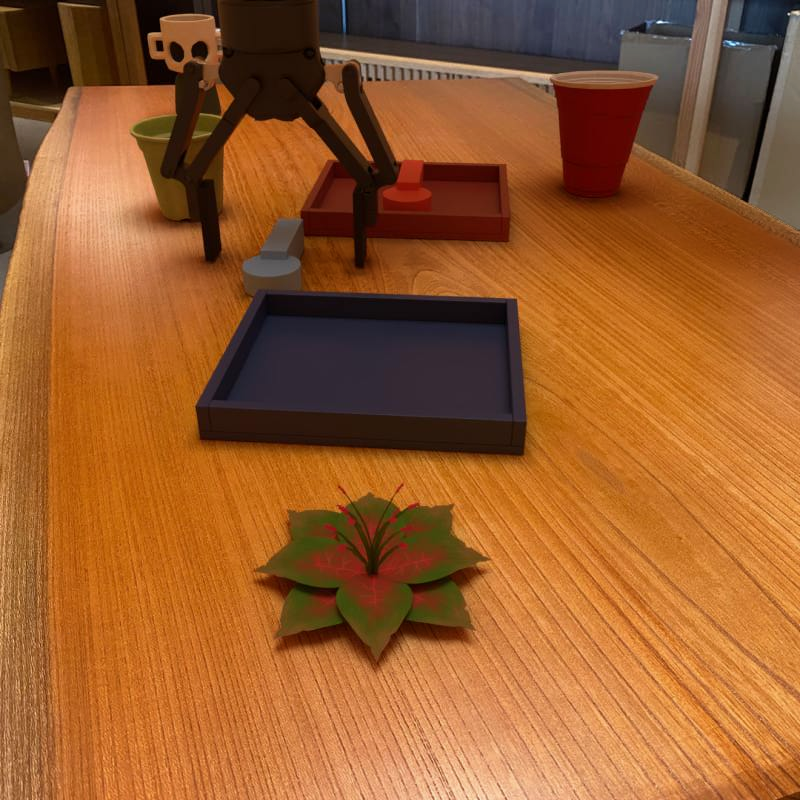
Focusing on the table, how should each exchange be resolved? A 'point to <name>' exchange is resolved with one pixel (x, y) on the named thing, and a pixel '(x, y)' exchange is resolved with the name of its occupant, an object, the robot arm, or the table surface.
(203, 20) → the pink mug head figurine
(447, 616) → the lily flower
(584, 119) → the plastic cup
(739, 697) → the table surface
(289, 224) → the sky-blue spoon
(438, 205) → the brick tray
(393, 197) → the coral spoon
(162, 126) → the plant pot
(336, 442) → the navy tray
